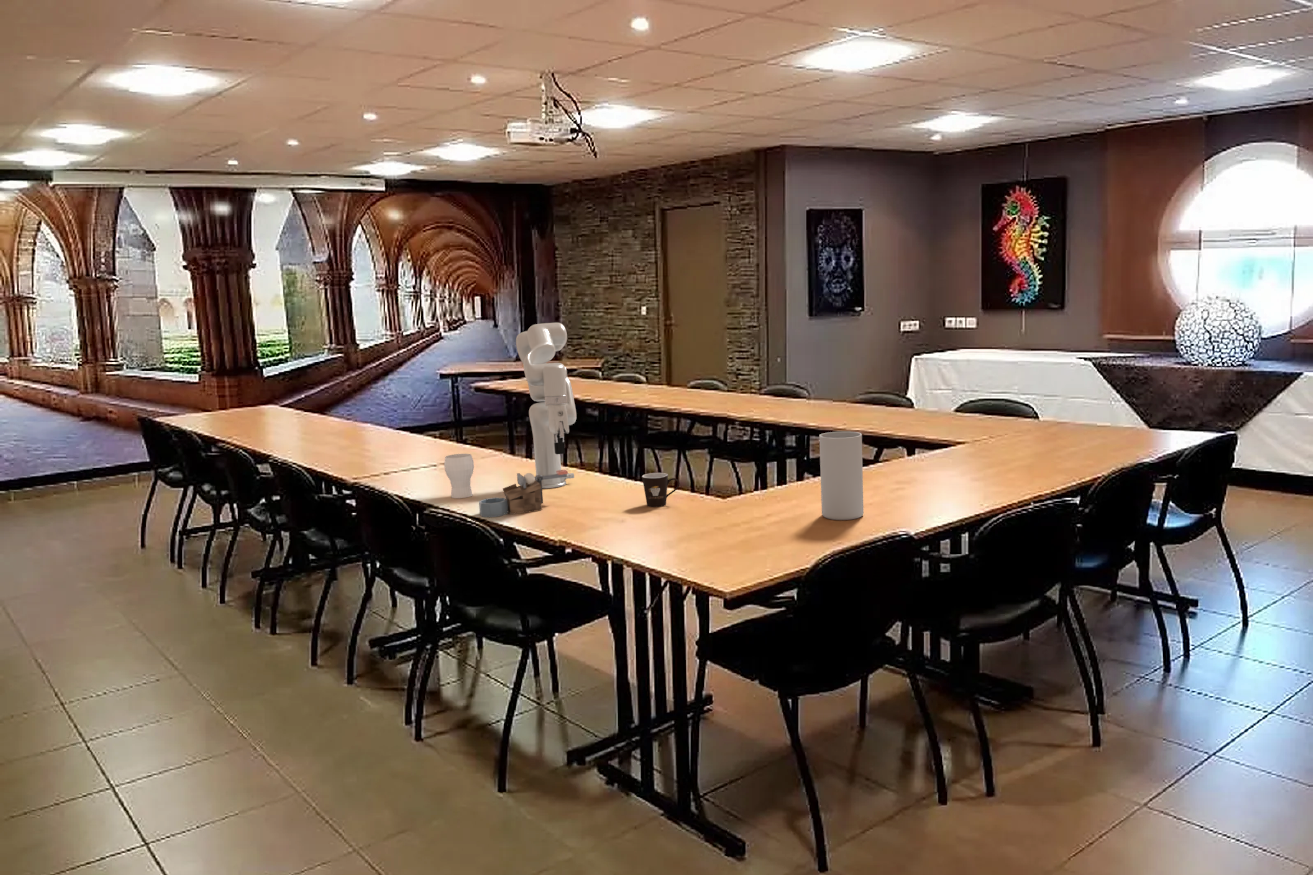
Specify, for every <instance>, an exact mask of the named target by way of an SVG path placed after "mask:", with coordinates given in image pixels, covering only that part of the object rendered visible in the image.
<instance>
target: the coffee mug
mask: <svg viewBox="0 0 1313 875" xmlns="http://www.w3.org/2000/svg"><path fill="white" fill-rule="evenodd" d="M668 477H669V474H668V473H664V472H652V473H646V474H643V475H642V476H641V478H642V483H643V484H642V485H643V490H644V495H645V500H646V506H647V507H649V508H659V507H665V506H666V505H667V498H668V497H669V496H670V495H671V494H673V493H674V492H676V491H677V490H678V489H679V487H680V485H681V484H680V480H678V478H675V477H671V478H670V479H669V478H668ZM671 481H676V482H677V486H676V487H675V488H674V490H673V489H672V491H670V492H669V493H668V485H669V484H670V482H671ZM664 505H665V506H664Z"/></svg>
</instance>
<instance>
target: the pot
mask: <svg viewBox="0 0 1313 875" xmlns="http://www.w3.org/2000/svg"><path fill="white" fill-rule="evenodd" d="M478 509H479V515H480V516H481V517H482V518H493V517H494V518H495V517H502V516H504V515H507V514H509V512H508V505H507V500H506V497H490V498H485V499H482V500H479V501H478Z"/></svg>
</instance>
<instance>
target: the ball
mask: <svg viewBox="0 0 1313 875" xmlns="http://www.w3.org/2000/svg"><path fill="white" fill-rule="evenodd" d="M523 477H525V481H526V484H527V485H531V484H533V483H534V481H535V475H534V474H533V473H530V472H527V473H525V474H524V475H523Z"/></svg>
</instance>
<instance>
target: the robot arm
mask: <svg viewBox="0 0 1313 875" xmlns="http://www.w3.org/2000/svg"><path fill="white" fill-rule="evenodd" d="M567 340H568V334H567V329H566V327H565V325H564V324H563V323H561V322H545V323H537V324H536V323H535V324H532V325H531V326H530V327H529V328H528V329H527V330H525V331H522V332H520V333H519V334H517V335H516V339H515V344H516V345H515V346H516V350H517V353H518V357H519V359H520V361H521V363H522V364H523V372H524V376H525V379H526V381H527V384H528V385H527V386H528V391H529V395H530V398H531V399H532V400H533V401H534V402H536V403H533V404H532V405H531V406H530V407H529V410H528V416H529V422H530V426H531V431H532V438H533V440H532V441H533V452H534V467H535V476H536V475H541V476H544V475H552V474H557V473H556V471H558V470H562V465H561V455H563V454H564V455H565V454H566V450H565V448H566V447H565V434H569V433H570V426H573V424H574V425H575V423H576V422H577V421H576V420H577V409H576V404H575V398H574V393H573V388H572V383H571V380H570V378H569V377H568V370H567V367H566V366H565V365H564V364H563V363H561V362H550V361H551V360H552V359H553V358H554V357H555V355H556V352H559V351H561V350H562V349H563V348H564V347H565V345H566V343H567ZM548 362H549V363H548ZM574 478H575V473H574V472H572V473H569V472H568V474H567V477H562V478H553V479H545V480H542V489H554V488H555V489H556V488H560V487H564V486H566V485H567V481H566V480H567V479H570V480H571V479H574Z"/></svg>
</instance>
